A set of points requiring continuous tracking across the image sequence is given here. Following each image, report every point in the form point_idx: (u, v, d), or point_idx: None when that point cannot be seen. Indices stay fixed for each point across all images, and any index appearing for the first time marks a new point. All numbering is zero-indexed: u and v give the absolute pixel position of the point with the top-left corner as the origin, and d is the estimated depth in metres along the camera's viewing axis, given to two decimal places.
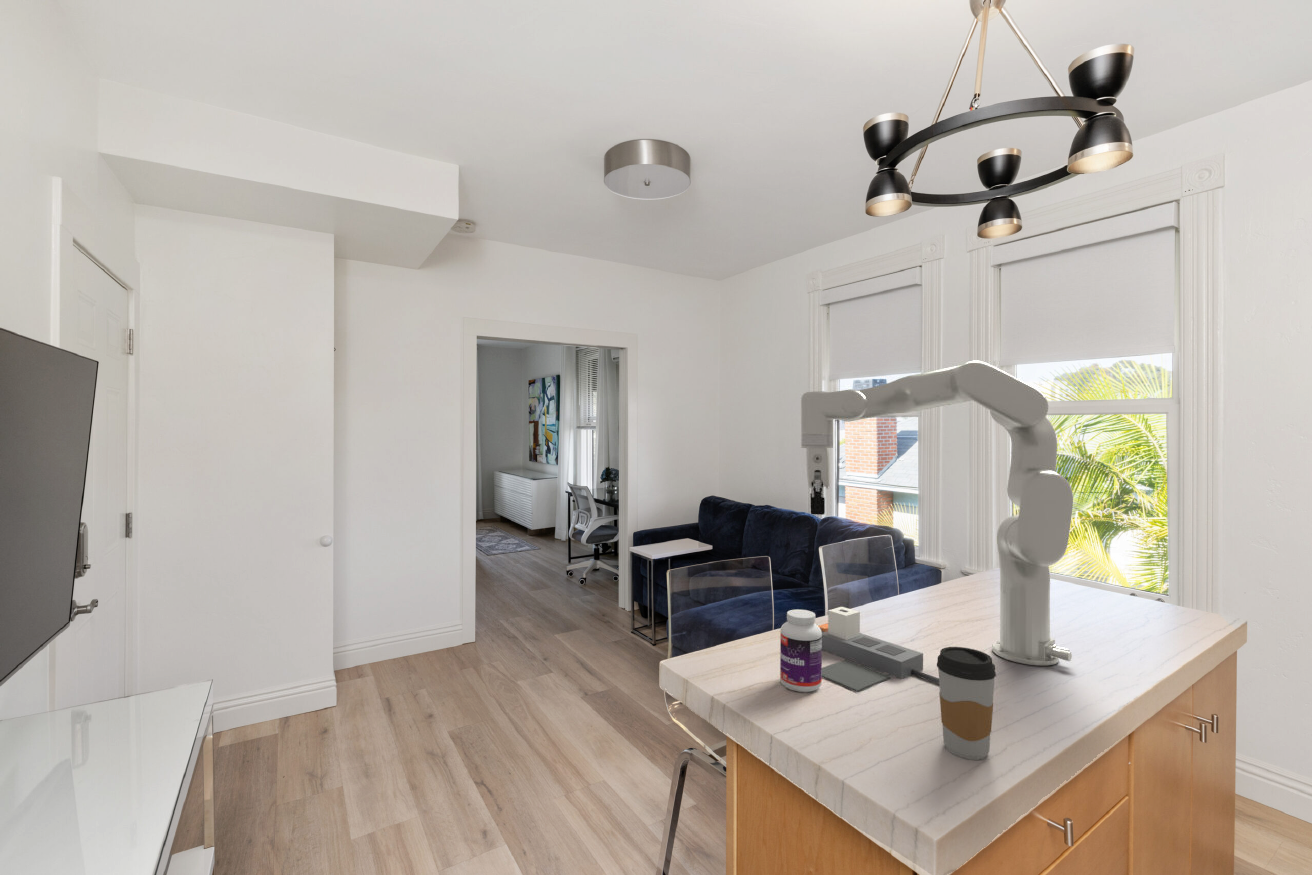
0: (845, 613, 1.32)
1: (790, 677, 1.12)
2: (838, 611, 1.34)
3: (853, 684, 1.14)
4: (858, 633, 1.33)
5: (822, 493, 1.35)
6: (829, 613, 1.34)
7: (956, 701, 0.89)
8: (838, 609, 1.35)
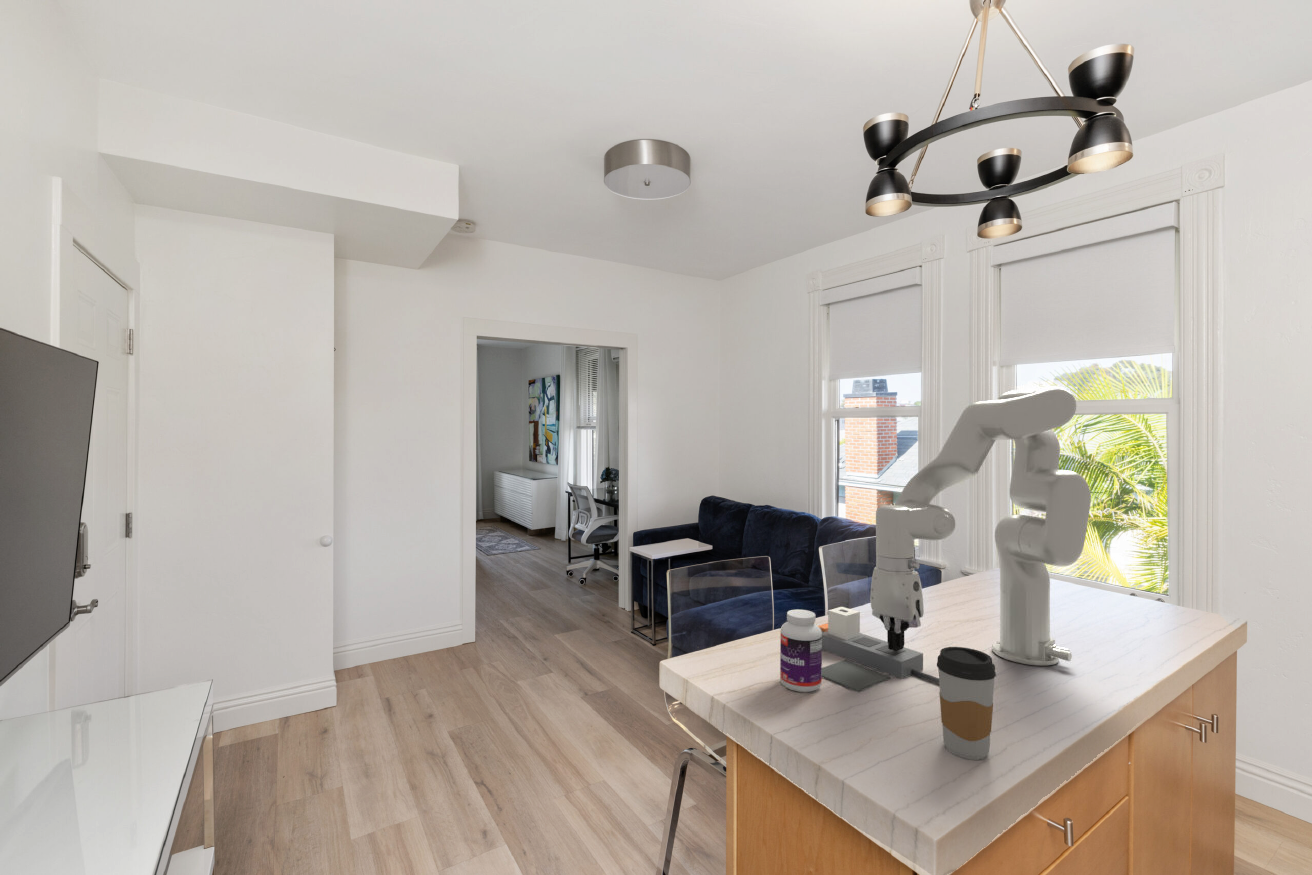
0: (845, 613, 1.32)
1: (790, 677, 1.12)
2: (838, 611, 1.34)
3: (853, 684, 1.14)
4: (858, 633, 1.33)
5: (906, 628, 1.22)
6: (829, 613, 1.34)
7: (956, 701, 0.89)
8: (838, 609, 1.35)
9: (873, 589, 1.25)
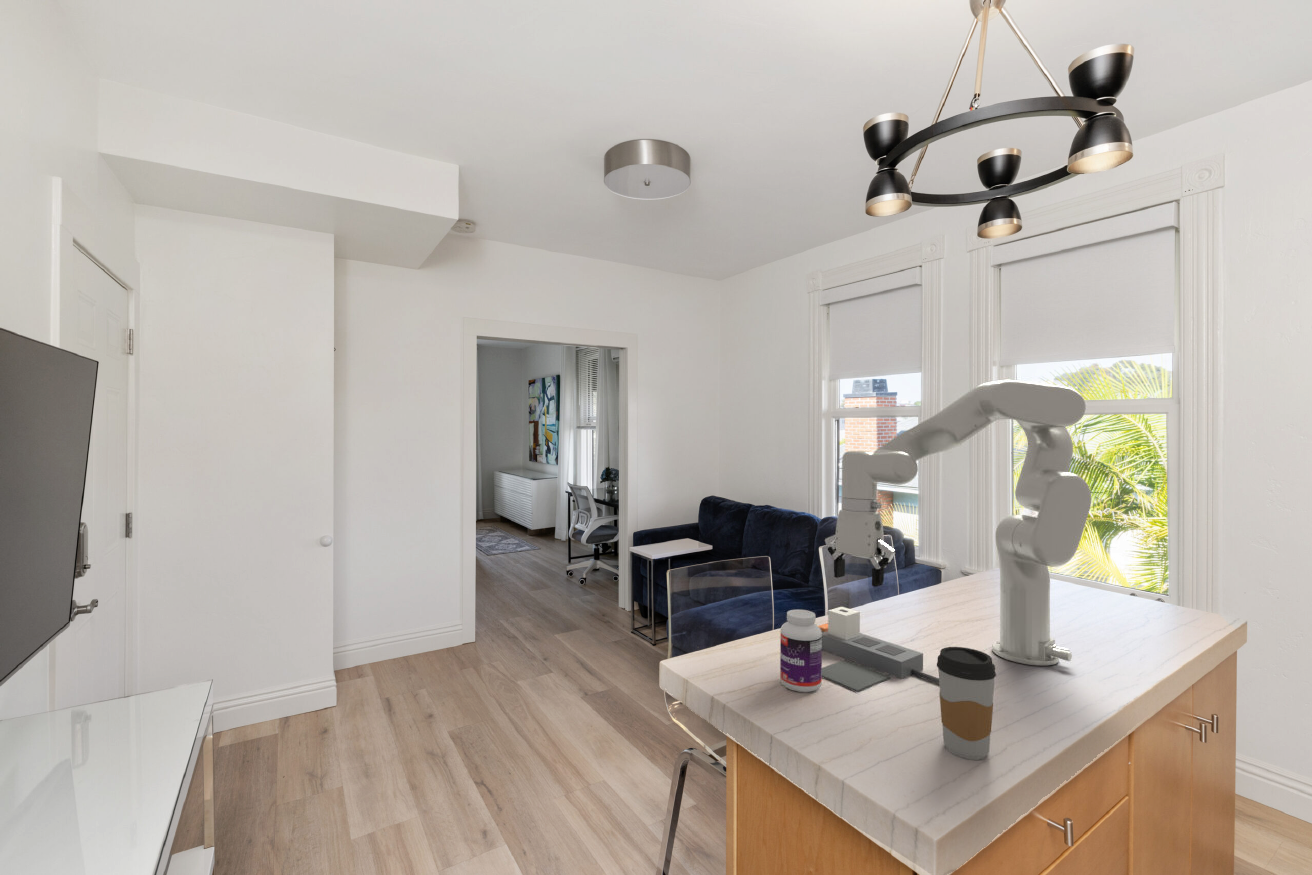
0: (845, 613, 1.32)
1: (790, 677, 1.12)
2: (838, 611, 1.34)
3: (853, 684, 1.14)
4: (858, 633, 1.33)
5: None
6: (829, 613, 1.34)
7: (956, 701, 0.89)
8: (838, 609, 1.35)
9: (838, 530, 1.32)
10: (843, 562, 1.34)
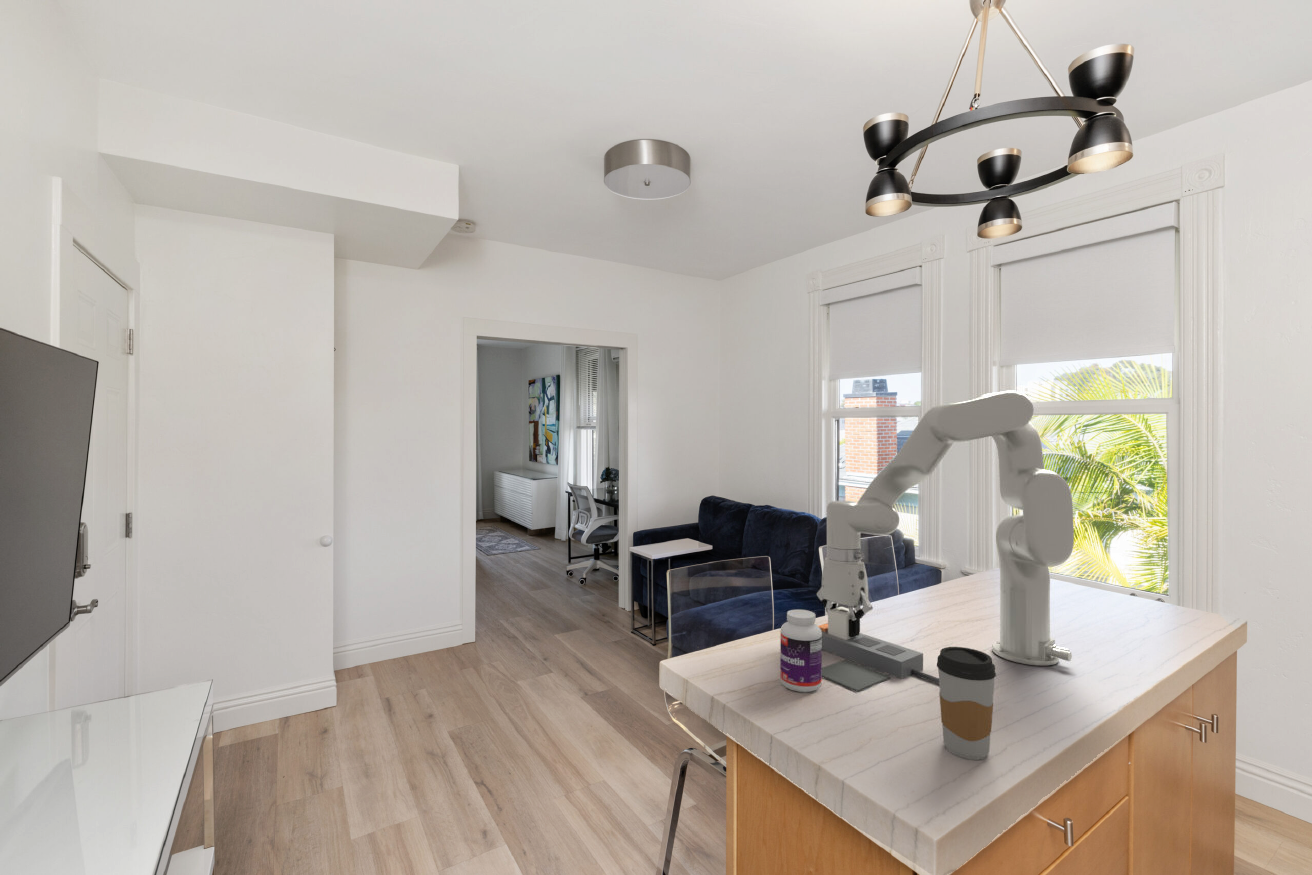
0: (845, 613, 1.32)
1: (790, 677, 1.12)
2: (838, 610, 1.34)
3: (853, 684, 1.14)
4: None
5: None
6: (829, 613, 1.34)
7: (956, 701, 0.89)
8: (838, 609, 1.35)
9: (824, 578, 1.36)
10: None
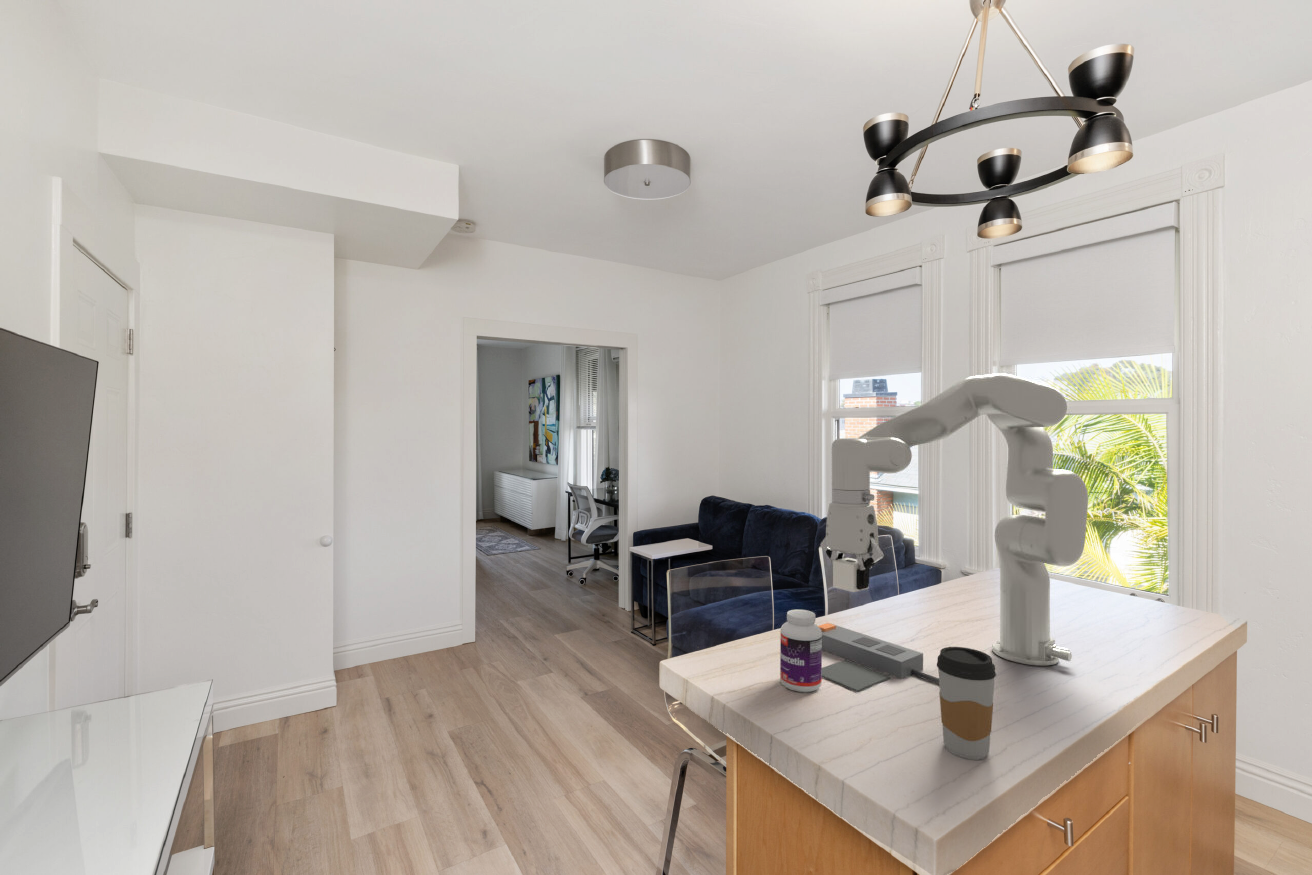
0: (852, 563, 1.18)
1: (790, 677, 1.12)
2: (844, 561, 1.19)
3: (853, 684, 1.14)
4: None
5: None
6: (834, 564, 1.20)
7: (956, 701, 0.89)
8: (844, 560, 1.21)
9: (828, 525, 1.21)
10: None
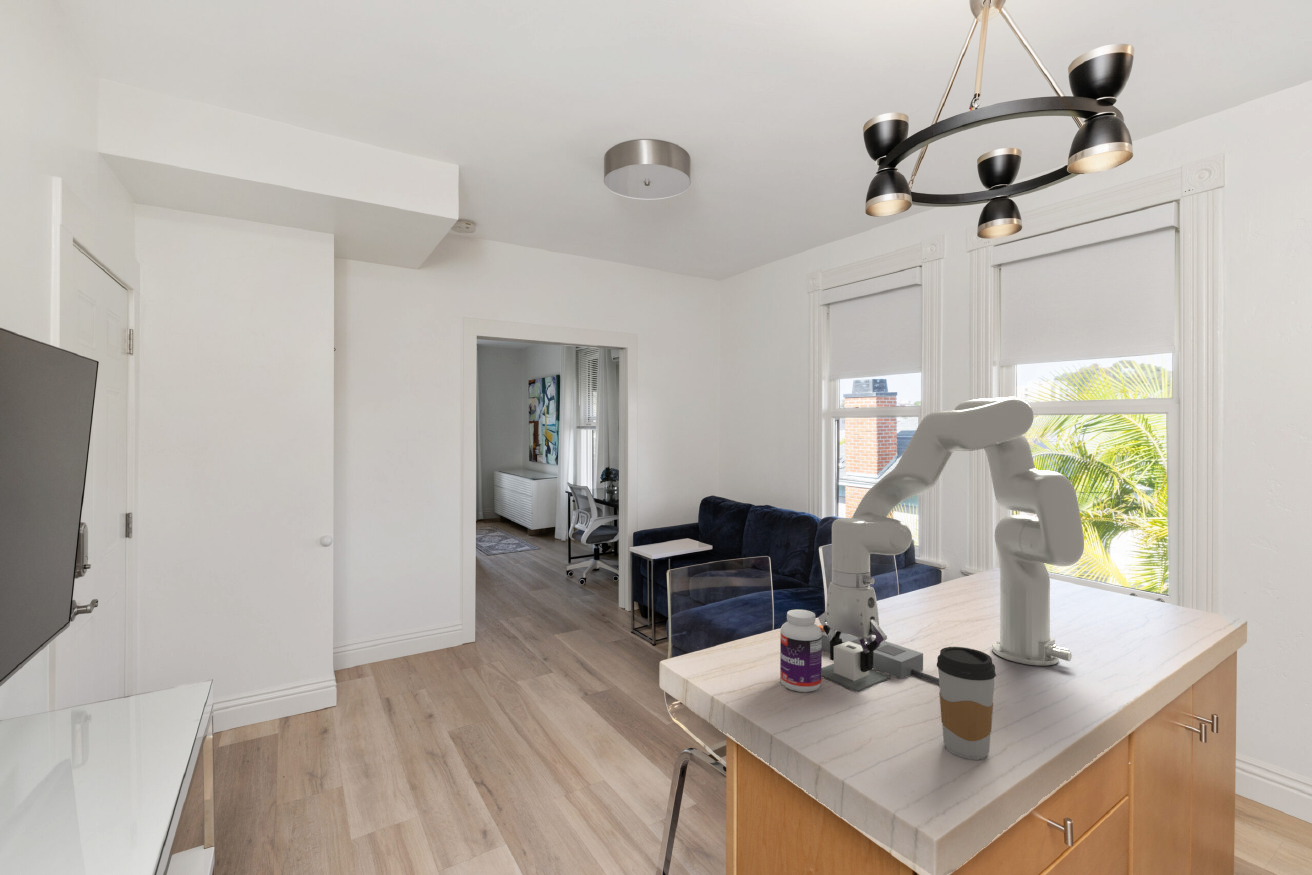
0: (853, 650, 1.18)
1: (790, 677, 1.12)
2: (845, 647, 1.19)
3: (853, 684, 1.14)
4: (867, 673, 1.19)
5: None
6: (835, 649, 1.20)
7: (956, 701, 0.89)
8: (845, 645, 1.21)
9: (829, 604, 1.21)
10: (840, 642, 1.23)
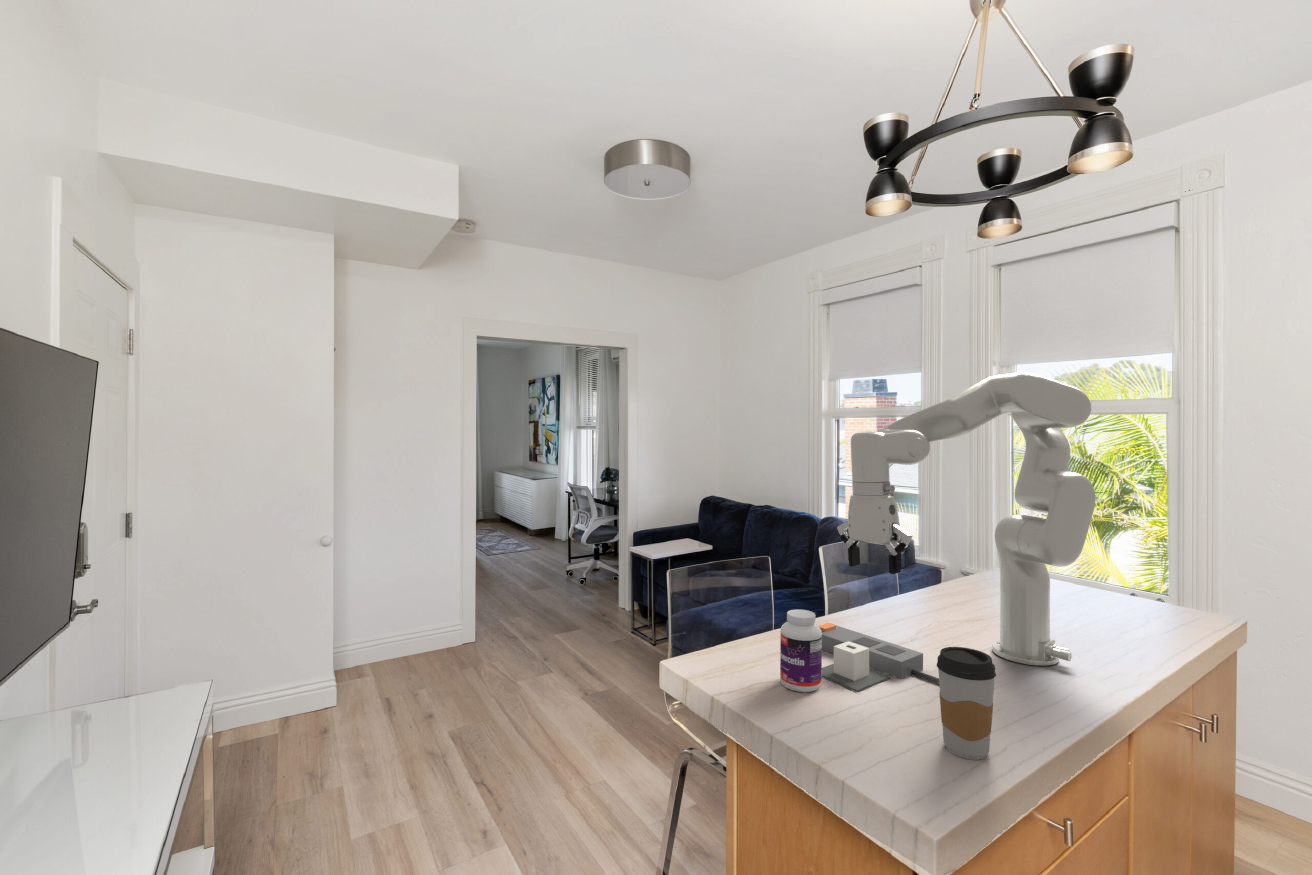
0: (853, 650, 1.18)
1: (790, 677, 1.12)
2: (845, 647, 1.19)
3: (853, 684, 1.14)
4: (867, 673, 1.19)
5: None
6: (835, 649, 1.20)
7: (956, 701, 0.89)
8: (845, 645, 1.21)
9: (850, 517, 1.25)
10: (858, 550, 1.28)
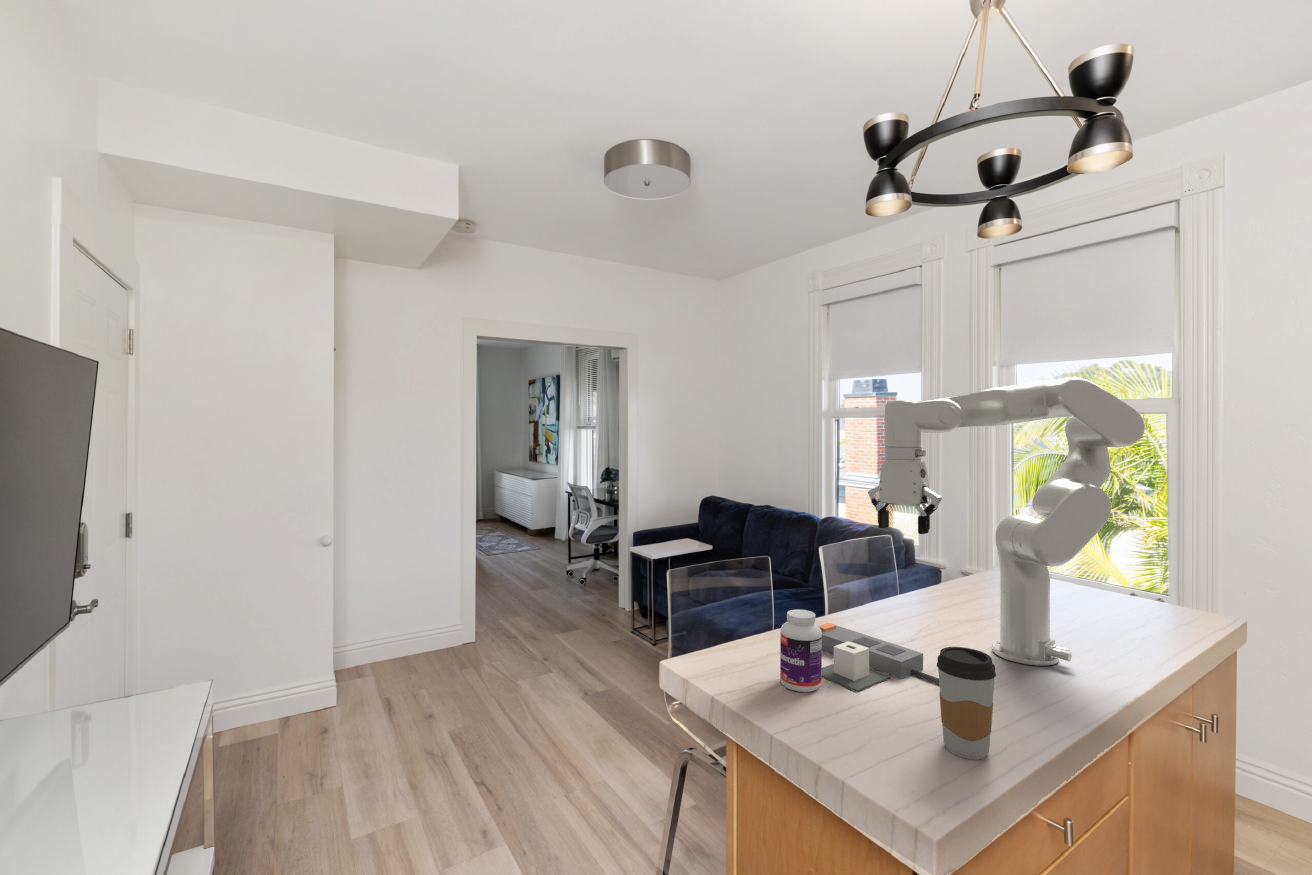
0: (853, 650, 1.18)
1: (790, 677, 1.12)
2: (845, 647, 1.19)
3: (853, 684, 1.14)
4: (867, 673, 1.19)
5: None
6: (835, 649, 1.20)
7: (956, 701, 0.89)
8: (845, 645, 1.21)
9: (882, 481, 1.32)
10: (887, 513, 1.34)
